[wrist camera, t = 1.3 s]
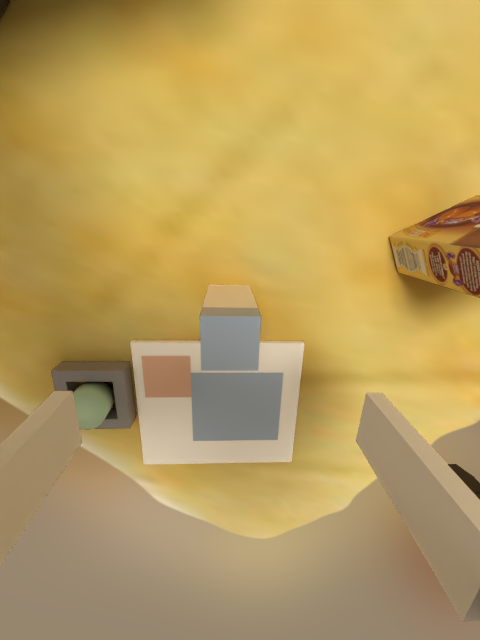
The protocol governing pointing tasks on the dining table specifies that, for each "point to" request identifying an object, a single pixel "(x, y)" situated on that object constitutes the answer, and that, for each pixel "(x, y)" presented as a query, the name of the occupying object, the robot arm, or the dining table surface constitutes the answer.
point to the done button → (93, 403)
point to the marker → (229, 329)
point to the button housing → (114, 372)
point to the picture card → (215, 404)
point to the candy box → (443, 248)
